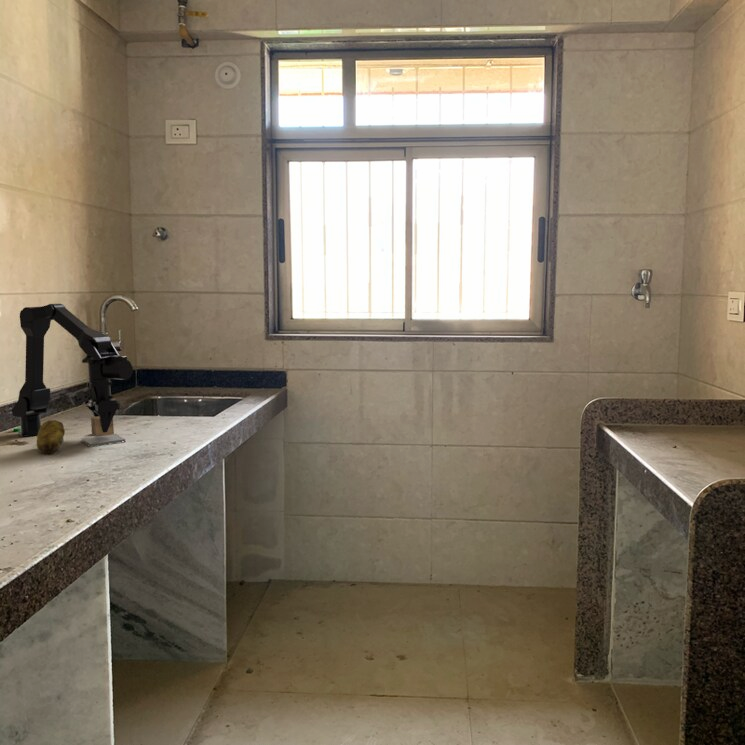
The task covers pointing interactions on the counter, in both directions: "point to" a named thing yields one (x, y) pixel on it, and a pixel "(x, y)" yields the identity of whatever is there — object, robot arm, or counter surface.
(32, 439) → the counter surface
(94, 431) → the tan block
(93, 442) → the slate board
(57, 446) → the potato
